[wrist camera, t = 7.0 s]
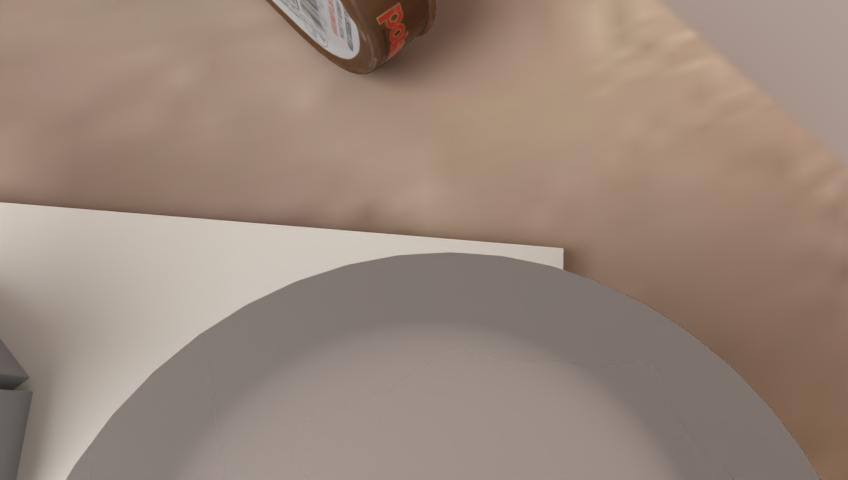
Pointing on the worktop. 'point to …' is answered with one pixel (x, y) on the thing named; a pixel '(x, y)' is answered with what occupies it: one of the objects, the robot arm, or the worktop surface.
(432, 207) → the worktop surface
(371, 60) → the tin
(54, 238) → the pallet
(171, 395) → the cylinder
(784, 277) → the worktop surface
